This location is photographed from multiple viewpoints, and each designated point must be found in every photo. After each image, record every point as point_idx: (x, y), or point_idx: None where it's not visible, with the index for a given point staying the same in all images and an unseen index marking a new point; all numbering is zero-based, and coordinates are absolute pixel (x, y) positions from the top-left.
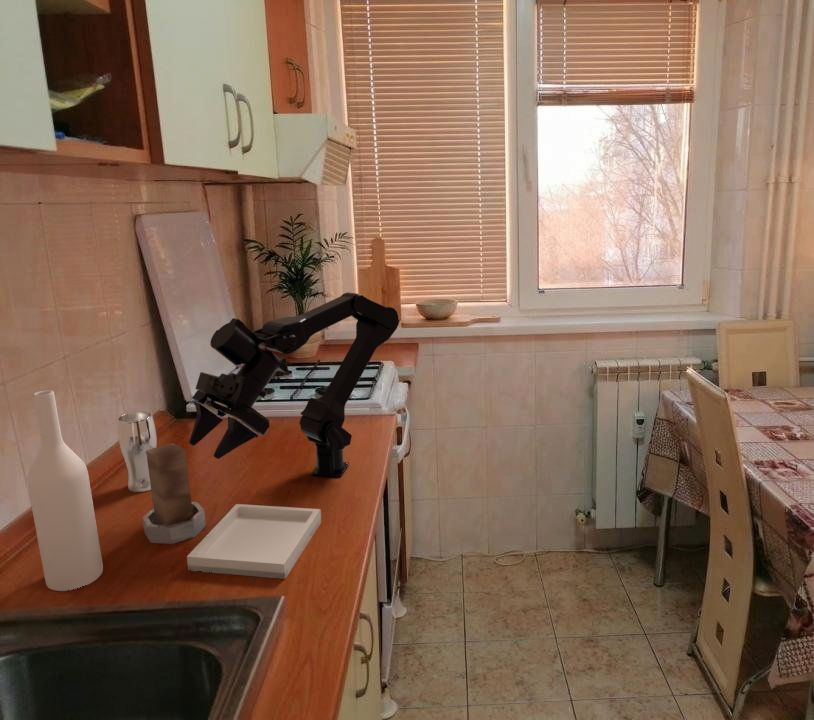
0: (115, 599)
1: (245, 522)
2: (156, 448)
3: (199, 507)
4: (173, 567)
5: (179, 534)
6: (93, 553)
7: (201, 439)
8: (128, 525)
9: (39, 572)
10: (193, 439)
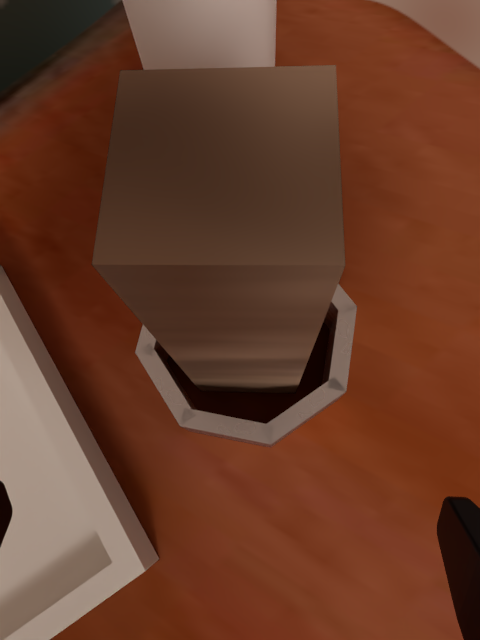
0: (46, 112)
1: (51, 530)
2: (321, 129)
3: (218, 425)
4: (52, 247)
5: None
6: (140, 48)
7: (463, 637)
8: (393, 256)
9: (298, 38)
10: (460, 542)
